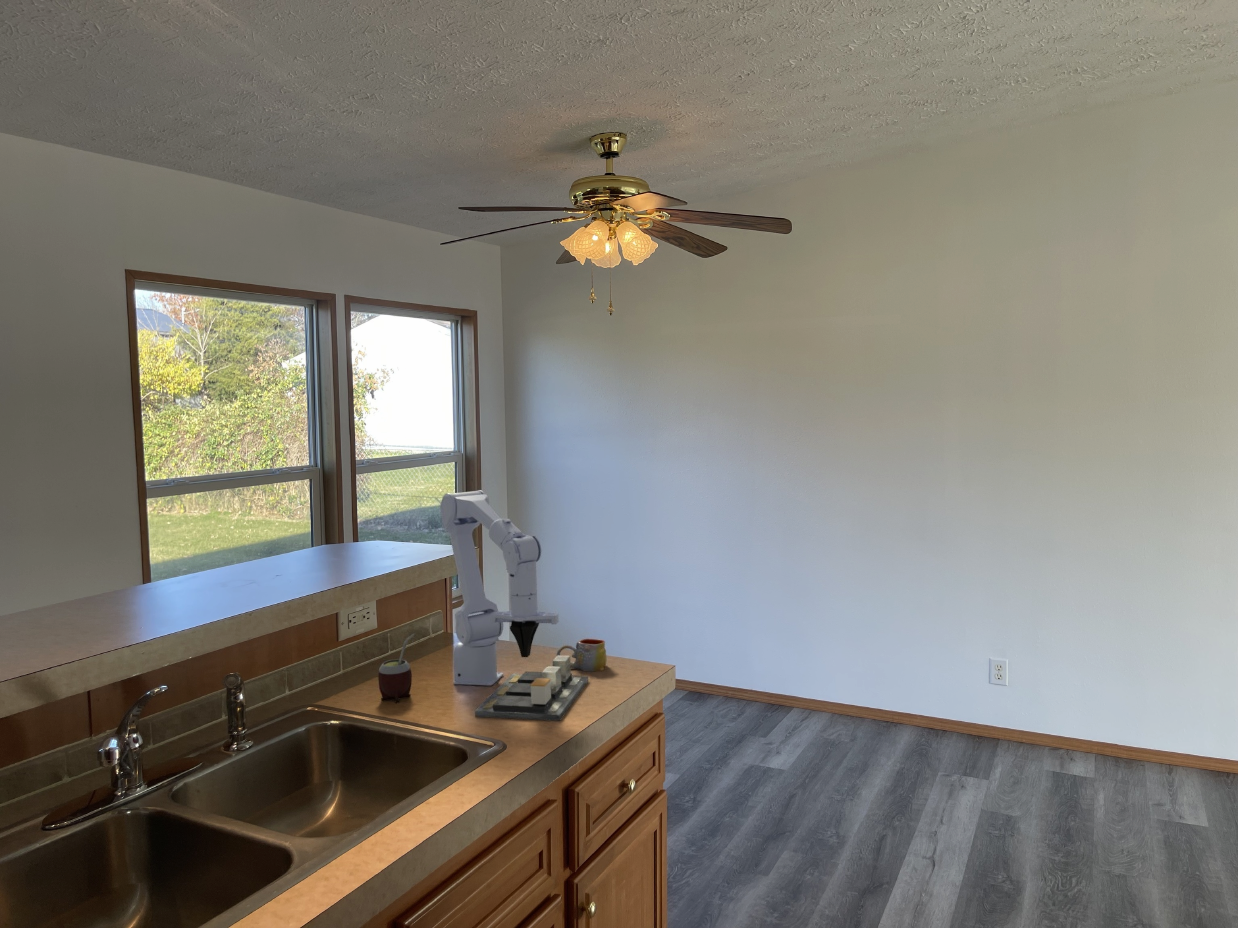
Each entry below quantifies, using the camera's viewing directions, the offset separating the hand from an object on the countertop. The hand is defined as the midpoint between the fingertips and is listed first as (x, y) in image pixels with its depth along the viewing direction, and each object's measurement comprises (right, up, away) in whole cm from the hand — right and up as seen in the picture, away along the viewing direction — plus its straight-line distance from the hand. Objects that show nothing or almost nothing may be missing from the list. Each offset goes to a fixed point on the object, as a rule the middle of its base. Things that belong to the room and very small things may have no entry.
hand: (525, 655), depth 177 cm
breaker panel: (+2, -10, +2) cm, 10 cm away
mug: (+11, -8, +23) cm, 27 cm away
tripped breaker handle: (+4, -8, -6) cm, 11 cm away
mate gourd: (-29, -11, +5) cm, 31 cm away
